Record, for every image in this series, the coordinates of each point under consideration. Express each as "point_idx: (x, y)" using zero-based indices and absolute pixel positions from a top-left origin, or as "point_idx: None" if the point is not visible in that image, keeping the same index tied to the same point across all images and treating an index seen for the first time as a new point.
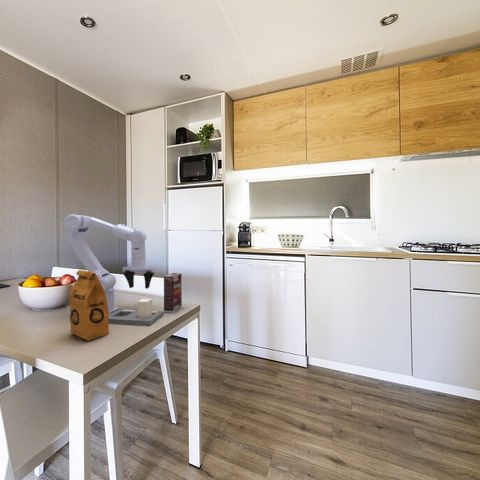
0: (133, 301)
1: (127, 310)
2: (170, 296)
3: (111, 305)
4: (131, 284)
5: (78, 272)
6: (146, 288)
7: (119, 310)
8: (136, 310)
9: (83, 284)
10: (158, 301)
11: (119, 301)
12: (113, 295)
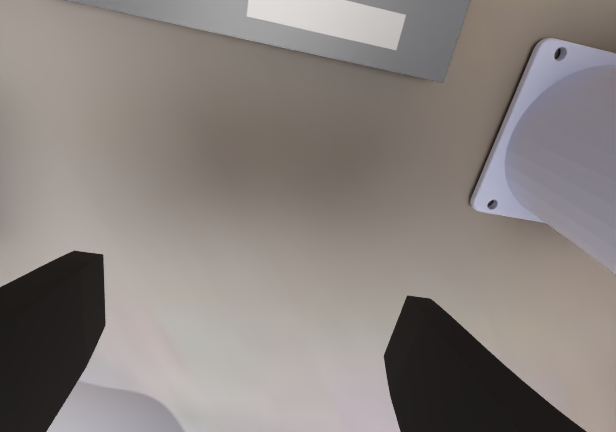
0: None
1: (339, 14)
2: None
3: (552, 131)
4: (420, 360)
5: None
6: (76, 251)
7: (433, 30)
8: (235, 13)
9: None
10: (195, 357)
11: (505, 359)
12: (611, 208)
